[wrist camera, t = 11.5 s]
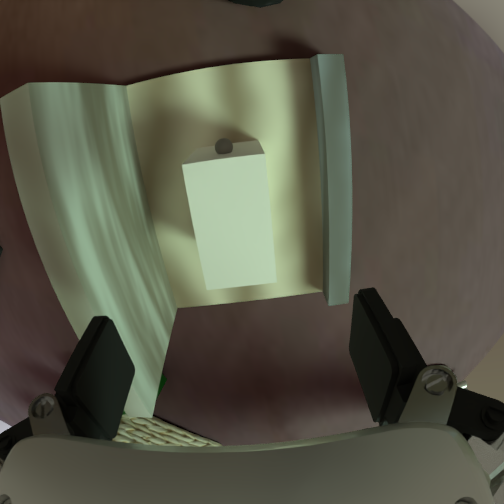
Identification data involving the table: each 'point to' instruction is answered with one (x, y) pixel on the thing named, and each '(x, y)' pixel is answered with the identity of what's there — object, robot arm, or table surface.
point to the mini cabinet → (231, 213)
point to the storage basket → (157, 433)
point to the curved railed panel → (178, 191)
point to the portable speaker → (257, 2)
